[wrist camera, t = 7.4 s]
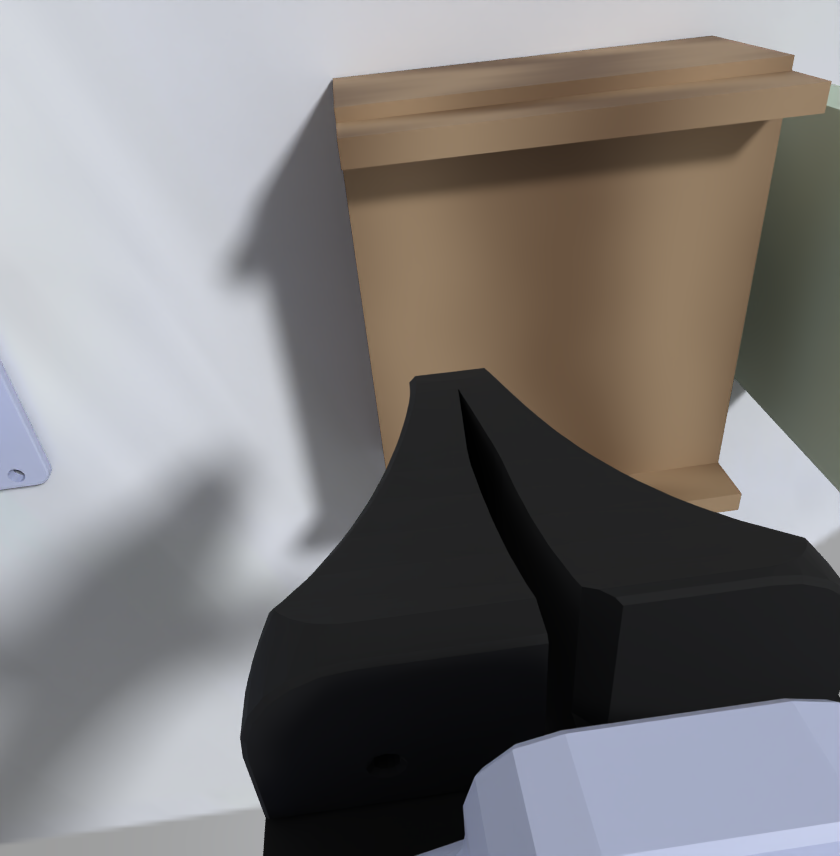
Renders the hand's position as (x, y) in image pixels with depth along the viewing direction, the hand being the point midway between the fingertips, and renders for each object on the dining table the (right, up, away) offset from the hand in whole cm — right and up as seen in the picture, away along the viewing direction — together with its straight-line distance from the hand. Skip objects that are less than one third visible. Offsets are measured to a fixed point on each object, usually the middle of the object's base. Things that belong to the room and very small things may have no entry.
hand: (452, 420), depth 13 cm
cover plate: (+10, +4, +7) cm, 13 cm away
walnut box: (+3, +5, +9) cm, 11 cm away
